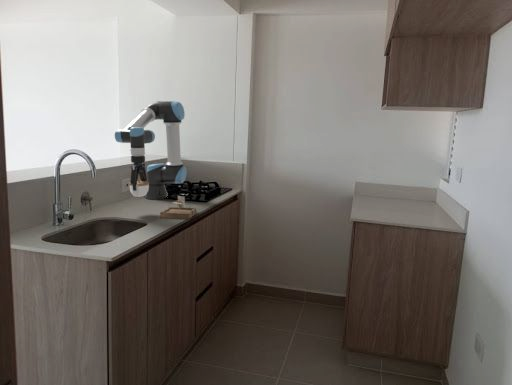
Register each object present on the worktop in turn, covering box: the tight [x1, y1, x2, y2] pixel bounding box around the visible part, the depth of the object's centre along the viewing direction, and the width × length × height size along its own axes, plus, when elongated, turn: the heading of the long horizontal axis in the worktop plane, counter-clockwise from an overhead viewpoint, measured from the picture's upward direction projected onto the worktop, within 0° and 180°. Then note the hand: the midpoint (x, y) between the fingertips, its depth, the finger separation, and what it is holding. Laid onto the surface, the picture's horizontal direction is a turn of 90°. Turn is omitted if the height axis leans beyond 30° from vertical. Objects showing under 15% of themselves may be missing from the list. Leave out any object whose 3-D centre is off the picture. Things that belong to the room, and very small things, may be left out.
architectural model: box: [172, 195, 186, 208], centre depth 258 cm, size 3×7×7 cm, turn 55°
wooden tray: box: [159, 206, 197, 220], centre depth 238 cm, size 16×16×3 cm
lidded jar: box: [128, 179, 149, 198], centre depth 239 cm, size 11×11×9 cm
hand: (139, 194), depth 239 cm, fingers closed on lidded jar, 11 cm apart
